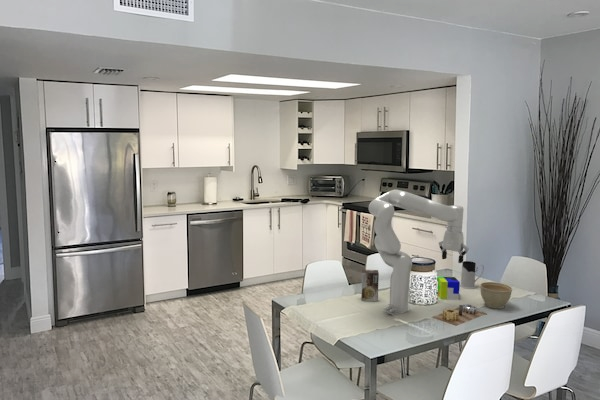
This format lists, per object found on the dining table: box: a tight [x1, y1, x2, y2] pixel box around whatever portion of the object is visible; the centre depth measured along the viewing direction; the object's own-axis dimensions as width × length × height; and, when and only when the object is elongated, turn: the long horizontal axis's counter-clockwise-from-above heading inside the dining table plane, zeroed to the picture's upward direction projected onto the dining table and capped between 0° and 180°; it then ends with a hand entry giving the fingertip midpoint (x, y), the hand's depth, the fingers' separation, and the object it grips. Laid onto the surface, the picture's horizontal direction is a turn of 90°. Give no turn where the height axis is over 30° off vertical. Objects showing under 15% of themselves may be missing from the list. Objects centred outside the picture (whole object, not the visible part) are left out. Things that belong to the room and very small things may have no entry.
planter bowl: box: [479, 281, 513, 309], centre depth 274 cm, size 16×16×11 cm
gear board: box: [431, 304, 487, 327], centre depth 255 cm, size 27×14×6 cm, turn 130°
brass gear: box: [442, 307, 458, 322], centre depth 249 cm, size 7×7×4 cm
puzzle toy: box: [436, 276, 461, 300], centre depth 288 cm, size 10×10×10 cm
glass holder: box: [460, 260, 485, 290], centre depth 307 cm, size 9×14×15 cm, turn 100°
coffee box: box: [360, 269, 380, 302], centre depth 280 cm, size 9×6×16 cm
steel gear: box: [462, 303, 478, 314], centre depth 260 cm, size 7×7×3 cm
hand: (452, 260), depth 269 cm, fingers open, 9 cm apart
